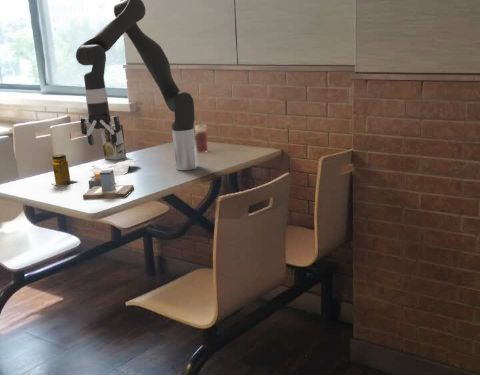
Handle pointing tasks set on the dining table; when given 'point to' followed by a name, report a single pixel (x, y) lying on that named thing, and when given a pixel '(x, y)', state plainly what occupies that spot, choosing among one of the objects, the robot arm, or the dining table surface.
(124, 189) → the drawing board
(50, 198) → the dining table surface
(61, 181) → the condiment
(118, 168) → the paper
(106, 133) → the coffee box
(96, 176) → the button
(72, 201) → the dining table surface
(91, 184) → the button housing
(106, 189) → the grey rectangular box
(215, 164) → the dining table surface
